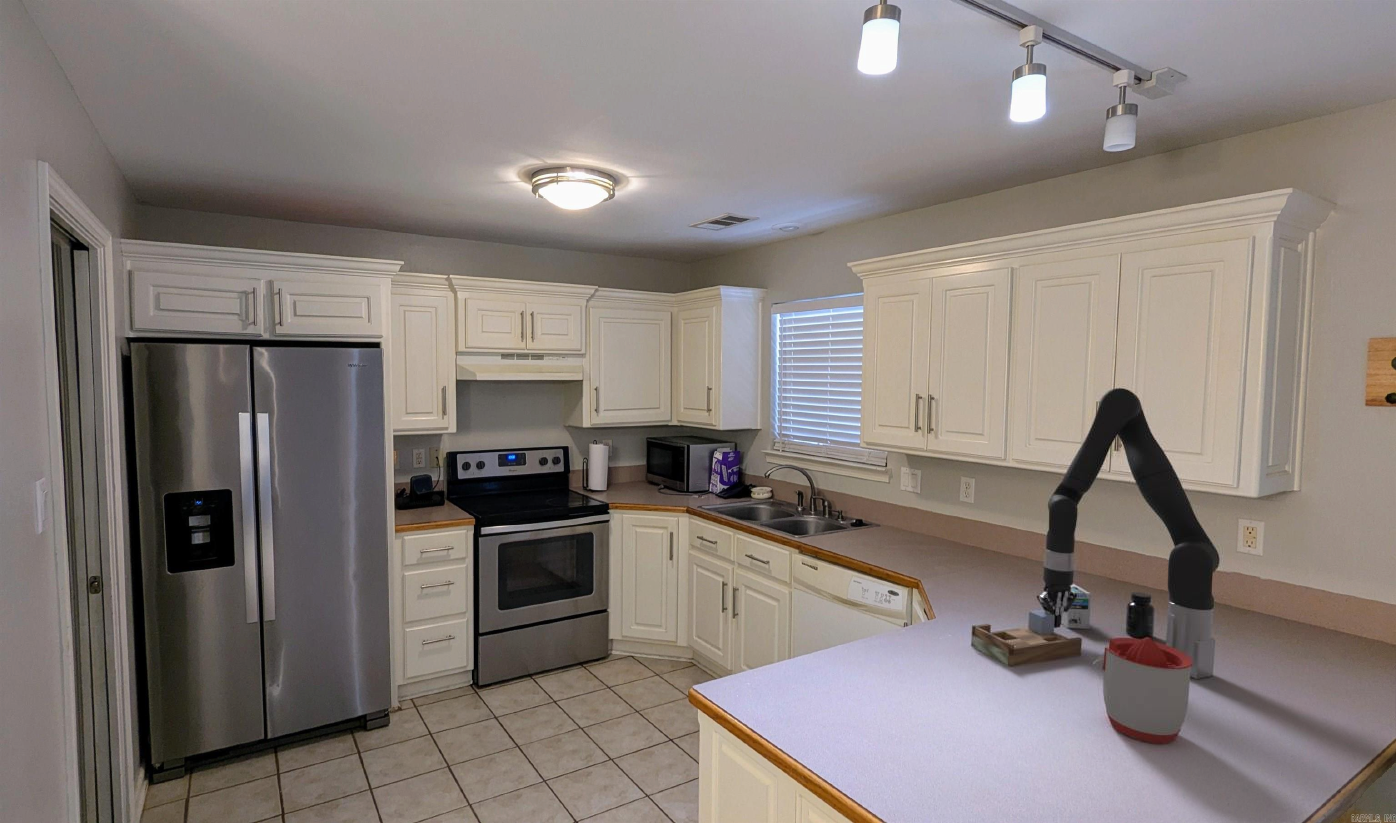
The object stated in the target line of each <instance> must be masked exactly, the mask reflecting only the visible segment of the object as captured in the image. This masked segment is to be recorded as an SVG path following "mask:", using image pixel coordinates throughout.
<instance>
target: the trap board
mask: <svg viewBox="0 0 1396 823" xmlns="http://www.w3.org/2000/svg"><path fill="white" fill-rule="evenodd" d="M991 627H992V625H991V624H990V623H984V624H977V625H972V626H971V638H970V639H971V641H970V642H971V643H970V646H971V647H973V648H974V649H977V650H979V651H980V652H983V653H984V654H986V655H988V656H990V657H991V658H993V659H996V660H998V661H999V662H1002V663H1003V664H1005V665H1006V666H1009V667H1018V666H1023V665H1028V664H1029V665H1030V664H1035V663H1042V662H1046V661H1047V662H1048V661H1053V660H1054V661H1055V660H1059V659H1066V658H1071V657H1072V658H1073V657H1077V656H1081V655H1082V644H1083V643H1082V642H1083V638H1082V637H1079V636H1077V637H1071V638H1068V637H1066V636H1064V635H1061V634H1060V633H1057V632H1055V631H1054V633H1051V634H1044V635H1040V634H1038V633H1036V632H1034V631H1032V630H1029V629H1028V626H1026V627H1025V626H1024V627H1018V628H1010V629H1005V630H998V631H996V630H995V631H991Z"/></svg>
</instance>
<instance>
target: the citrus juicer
mask: <svg viewBox="0 0 1396 823" xmlns="http://www.w3.org/2000/svg"><path fill="white" fill-rule="evenodd" d="M1103 653H1104V654H1100V655H1099V656H1097V658H1096V660H1095V661H1093V663H1092V665H1093V666H1101V667H1102V670H1103V673H1102V674H1103V675H1102V676H1103V678H1102V693H1103V702H1104V706H1105V710H1106V714H1107V718H1108V720H1109V723H1110V725H1111V727H1113V728H1114V729H1116V731H1117V732H1118V733H1121V734H1124V735H1125V736H1128V737H1130V738H1132V739H1133V738H1134V739H1136V740H1139V741H1143V742H1147V743H1151V744H1152V743H1154V744H1157V745H1163V744H1167V743H1169V744H1170V743H1171V742H1173V741H1174V740H1175V739H1176V738H1177V736H1178V735H1179V733H1180V732H1181V728H1182V727H1183V724H1184V722H1185V720H1186V715H1187V712H1188V705H1189V695H1190V683H1191V682H1190V681H1191V677H1190V670H1191V665H1192V664H1193V662H1192V659H1191V658H1190V657H1189V656H1188V655H1187V654H1185V653H1183V652H1181V651H1179V650H1177V649H1175V648H1172V647H1170V646H1167V645H1166V644H1163V643H1159V642H1155V641H1154V640H1153V639H1152V638H1151V639H1150V638H1148V637H1146V638H1144V639H1139V638H1135V637H1115V638H1114V637H1113V638H1110V639H1109V644H1108V647H1106V646H1105V647H1104V652H1103Z"/></svg>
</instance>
